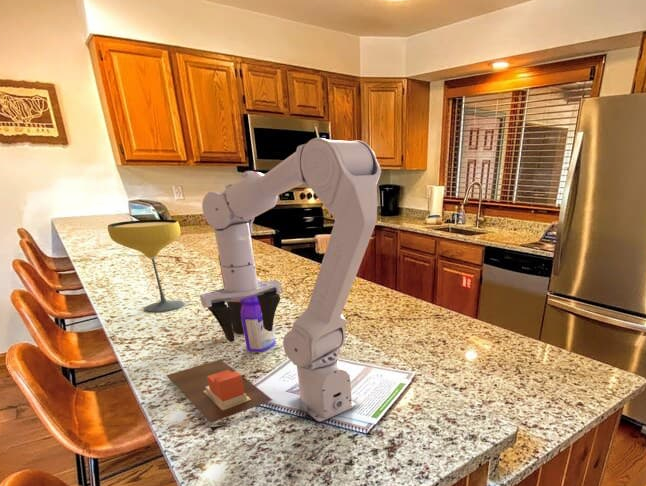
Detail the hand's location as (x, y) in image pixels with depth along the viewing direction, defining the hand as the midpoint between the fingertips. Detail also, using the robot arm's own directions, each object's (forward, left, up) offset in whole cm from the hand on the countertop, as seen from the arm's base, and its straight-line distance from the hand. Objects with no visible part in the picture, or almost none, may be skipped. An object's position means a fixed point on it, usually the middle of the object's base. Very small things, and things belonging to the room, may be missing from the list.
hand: (250, 334), depth 82 cm
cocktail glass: (+68, -2, -11) cm, 69 cm away
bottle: (+14, -8, -11) cm, 19 cm away
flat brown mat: (+1, +8, -10) cm, 13 cm away
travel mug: (+31, -12, -11) cm, 35 cm away
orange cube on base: (-4, +8, -9) cm, 12 cm away
